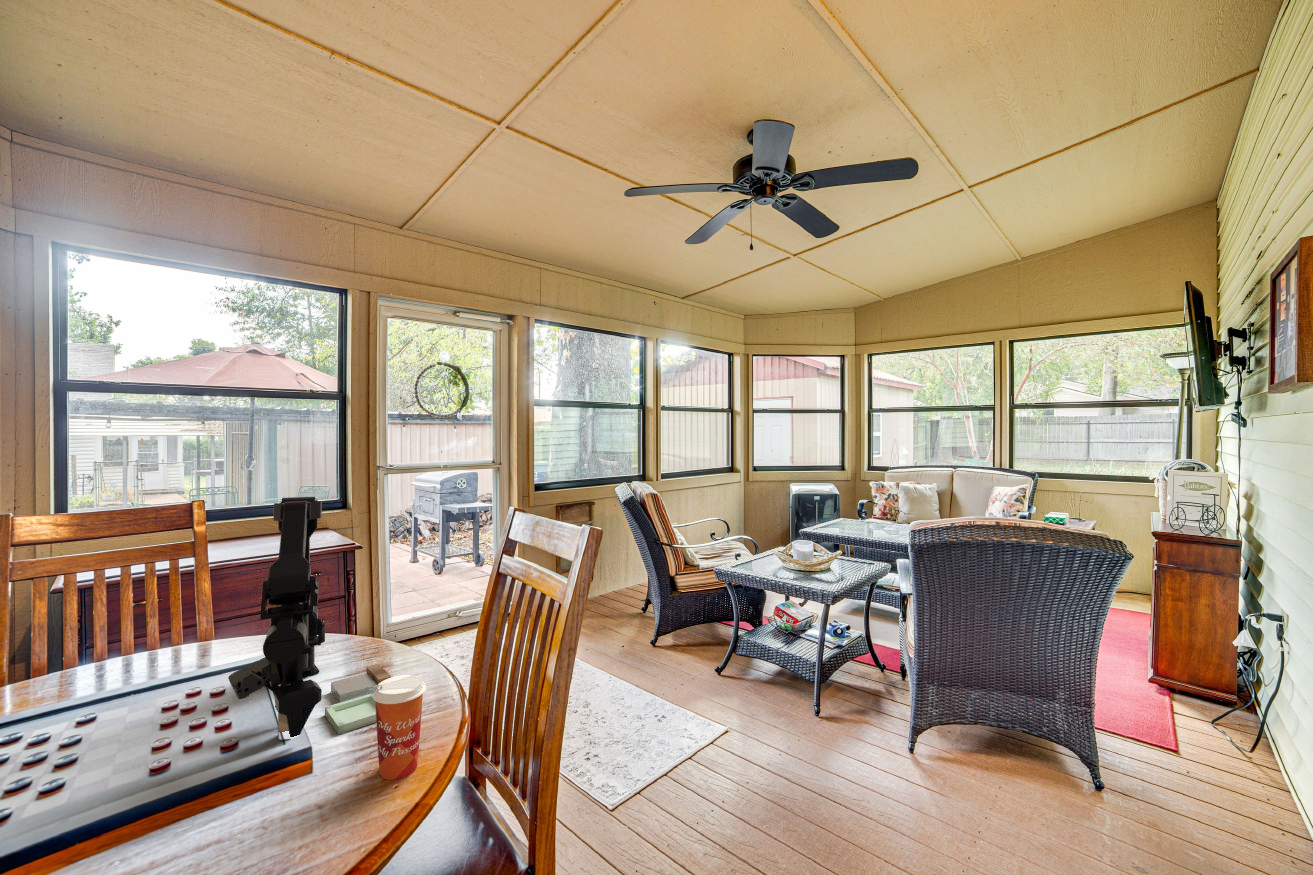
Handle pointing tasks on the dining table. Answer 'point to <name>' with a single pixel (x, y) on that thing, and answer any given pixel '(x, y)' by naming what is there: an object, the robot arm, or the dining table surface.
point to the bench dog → (377, 673)
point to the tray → (352, 713)
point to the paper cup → (398, 725)
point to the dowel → (282, 723)
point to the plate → (353, 687)
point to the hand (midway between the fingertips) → (288, 728)
